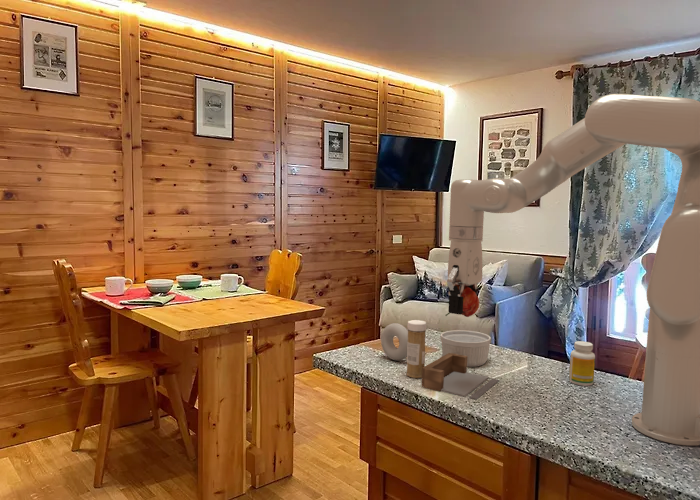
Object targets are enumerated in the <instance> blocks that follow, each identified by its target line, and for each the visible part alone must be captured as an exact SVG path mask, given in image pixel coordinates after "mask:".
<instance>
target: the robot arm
mask: <svg viewBox="0 0 700 500" xmlns="http://www.w3.org/2000/svg"><path fill="white" fill-rule="evenodd" d="M584 116H585V117H584V118H582V119H580V120H579V121H577V122H576V123H574V124H572V125H571V126H570V127H568V128H567V129H565V130H564V131H562V132H561V133H560V134H557V135H555V136H554V137H553V138H551V139H550V140H549V141H548V142H546V144H545V145H544V147H543V149H542V151H541V153H540V154H539V156H538V157H537V158H536V159H535V160H534V161H533V162H532V163H531V164H530V165H528V166H527V167H526V168H524V169H523V170H521V171H519V172H518V173H516V174H515V175H513V176H511V177H510V178H500V177H497V178H496V177H495V178H494V177H493V178H487V179H479V180H478V179H456V180H454V181H453V182H452V183H451V186H450V199H449V201H450V202H449V228H448V232H449V233H448V241H450V244H449V245H450V246H449V252H448V261H447V262H448V263H447V279H446V283H447V289H448V292H447V295H448V312H447V313H450V314H454V315H460V316H461V314H463V297H461V296H462V293H463V289H464V286H467V287H469V288H471V289H472V290H475V289H477V288H478V284H479V283H481V282H482V280H483V247H482V242H483V241H484V240H483V236H484V220H485V218H484V214H485V213H491V214H509V213H511V214H512V213H516V212H517V211H520V210H522V209H523V208H525V207H526V208H527V206H529V205H530V204H533V203H534V202H536V201H537V200H539V199H541V198H542V197H544V196H546V195H547V194H549V193H550V192H551V191H553V190H554V189H556V188H557V187H558V186H560V185H561V184H563V183H565V182H566V181H568V180H569V179H570V178H572V177H573V176H574V175H577V174H578V173H579V172H580V171H583V170H584V169H586V168H587V167H589V166H591V165H593V164H594V163H595V162H597V161H599V160H601V159H603V158H604V157H606V156H607V155H609V154H611V153H613V152H614V151H616V150H617V149H619V148H621V147H622V146H624V145H633V146H643V147H652V148H659V149H665V150H666V151H668V152H670V153H671V154H674V155H676V156H677V157H678V158H679V159H680V162H681V173H680V177H679V181H678V185H677V192H676V196H675V200H674V204H673V207H672V211H671V214H670V215H669V216H668V217H667V218H666V220H665V222H664V224H663V225H662V228H661V231H660V234H659V239H658V243H657V248H656V251H655V255H654V258H653V259H654V260H653V263H652V264H653V265H652V268H651V271H650V272H651V273H650V276H649V281H648V285H647V288H646V289H647V290H646V301H647V304H648V306H649V313H648V314H649V315H648V324H647V325H648V327H647V334H646V335H647V337H646V347H645V348H646V350H645V351H646V352H645V361H644V362H645V363H644V364H645V365H644V373H643V374H644V376H643V389H642V390H643V392H642V400H641V401H642V405H641V412H637V413H634V415H632V418H631V425H632V427H633V428H634V429H635V430H636V431H638V432H639V433H641V434H643V435H645V436H647V437H649V438H652V439H655V440H657V441H661V442H665V443H667V444H673V445H678V446H679V445H680V446H689V447H690V446H691V447H692V446H694V447H695V446H697V447H698V446H700V101H699V100H696V99H693V98H689V97H688V98H687V97H678V96H677V97H676V96H675V97H674V96H659V95H658V96H656V95H646V94H643V95H642V94H632V93H631V94H630V93H629V94H627V93H611V94H606V95H603V96H601V97H598V98H597V99H596V100H595V101H593V102H592V103H591V104H590V105H589V106H588V108H587V109H586V112H585V115H584ZM457 287H459V290H458V288H457ZM476 295H477V296H478V292H477V293H476Z"/></svg>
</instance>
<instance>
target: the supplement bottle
mask: <svg viewBox="0 0 700 500" xmlns="http://www.w3.org/2000/svg"><path fill="white" fill-rule="evenodd" d="M573 348H574V349H573V350H571V352H570V357H569V358H570V359H569V373H568V380H569V381H570V383H571V384H575V385H577V386H580V387H581V386H583V387H588V386H589V387H590V386H592V385H593V384H594V380H595V365H596V355H595V353H594V352H593V350H594V344H593V343H592V342H589V341H583V340H579V341H575V342H574V346H573Z"/></svg>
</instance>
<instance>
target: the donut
mask: <svg viewBox="0 0 700 500" xmlns="http://www.w3.org/2000/svg"><path fill="white" fill-rule="evenodd" d="M394 337H396V338H397V339H398V344H399V345H398V347H397V346H396V345H395V343H394V339H395V338H394ZM407 341H408V329H407V327H405V325H402V324H401V323H398V322H397V323H395V322H393V323H390V324H387V325H386V326H385V327H384V328H383V330H382V332H381V336H380V343H381V348H382V351H383V352H384V354H385V355H386V356H387V357H388V358H389V359H390V360H391V359H392V360H393V361H397V362H399V361H400V362H401V361H403V360H405V359H407Z"/></svg>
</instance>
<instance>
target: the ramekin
mask: <svg viewBox="0 0 700 500" xmlns="http://www.w3.org/2000/svg"><path fill="white" fill-rule="evenodd" d="M440 341H441V352H442V357H443V356H444V355H446V354H448V353H454V354H459V355H464V356H467V368H472V367H474V368H476V367H480V366H483V365H484V364H485V363H486V362H487V360H488V357H489V352H490V346H491V343H492V337H491V336H490V335H489V334H486V333H483V332H479V331H474V330H463V329H461V330H460V329H459V330H458V329H456V330H447V331H443V332H442V333H440Z"/></svg>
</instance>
